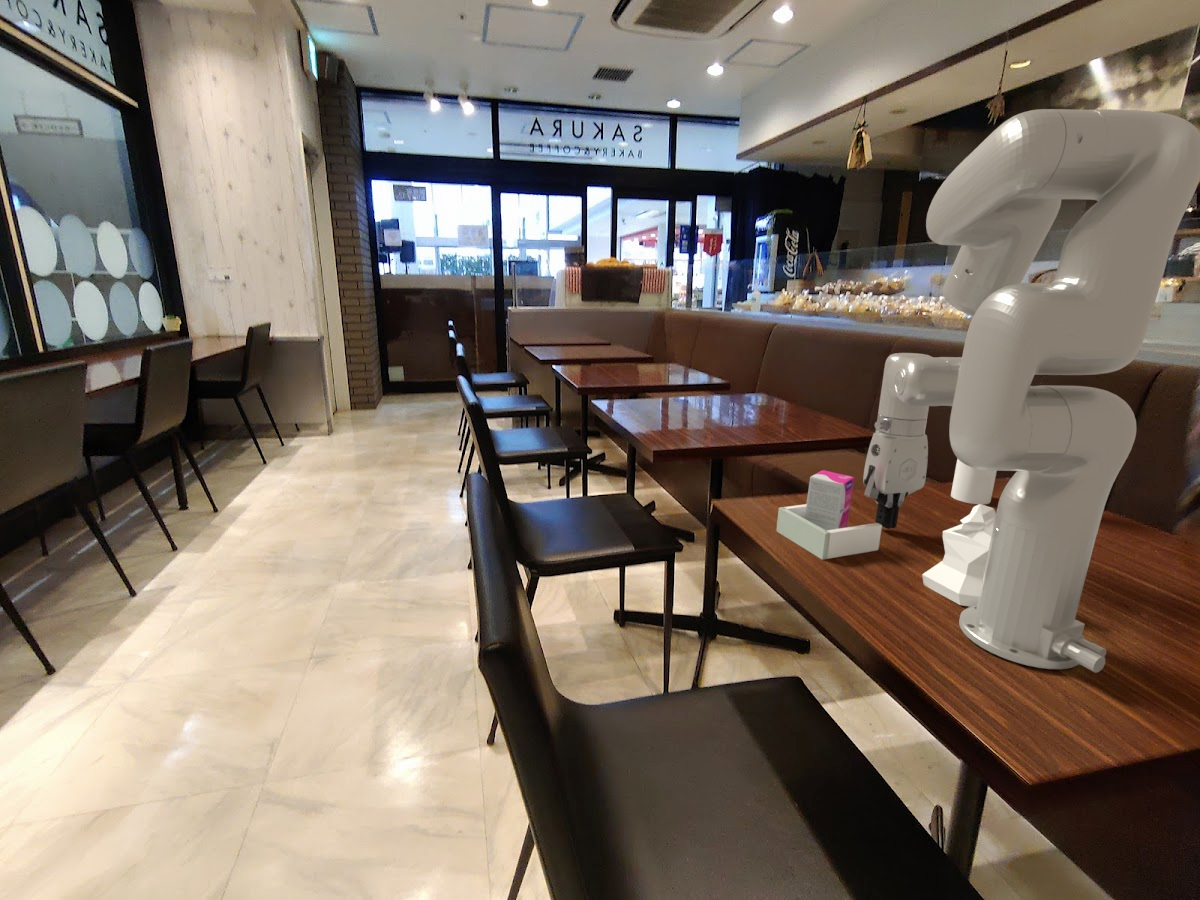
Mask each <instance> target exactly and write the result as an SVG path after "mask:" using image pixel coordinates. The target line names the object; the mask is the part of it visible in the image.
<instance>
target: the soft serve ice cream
mask: <svg viewBox="0 0 1200 900" xmlns="http://www.w3.org/2000/svg"><path fill="white" fill-rule="evenodd" d="M996 512H997V511H996V510H995V508H993V507H990V506H987V505H986V504H976V505H974V506H973V507H972V509H971V511H970V513H969V514H968V515H966V516H964V517H963V518H961V519H960V520H959V521H960V522H961V524H957V525H956V526H955V525H954V526H953V527H950V528H948V529H945V530H943V531H942V541H943V547H944V556H943V558H942V560H941V561H939V562H938V563H937V564H935V565H934V566H932V567H931V568H929V569H928V570H927V571H925V572H924V573H922V581H923V582H922V583H923V586H925V587H926V588H928V589H930V590H932V591H934V592H936V593H937V594H939V595H941V596H943V597H944V598H946V599H949V600H950V601H952V602H954V603H955V604H957V605H959V606H964V607H972V606H977V604H978V599H979V594H980V590H981V585H982V580H983V575H984V570H985V565H986V561H987V556H988V551H989V546H990V541H991V536H992V531H993V527H994V522H995V517H996Z"/></svg>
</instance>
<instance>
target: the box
mask: <svg viewBox="0 0 1200 900" xmlns="http://www.w3.org/2000/svg"><path fill="white" fill-rule="evenodd" d="M806 504H807V503H805V504H797V505H791V506H781V507H778V514H777V521H776V532H777V533H778V534H781V535H782V536H783V537H785V538H787V539H788V540H789V541H792V542H793V543H794V544H796V545H798V546H799V547H800V548H802V549H804V550H806V551H808V552H809V553H811V554H812V555H814V556H815V557H817V558H819V559H820V560H828V559H833V558H834V559H835V558H839V557H846V556H852V555H858V554H864V553H869V552H876V551H879V548H880V542H881V541H880V540H881V534H882V528H883V526H882V525H881V524H879V523H876V522H875V523H867V524H866V523H865V524H861V525H855V526H854V525H853V526H848V527H846V528H840V529H833V530H824V529H822V528H821V527H819V526H817V525H815V524H813V523H811V522H810V521H808V520H806V519H805V511H806Z"/></svg>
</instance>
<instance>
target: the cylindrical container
mask: <svg viewBox="0 0 1200 900" xmlns="http://www.w3.org/2000/svg"><path fill="white" fill-rule="evenodd" d="M956 458H957V457H956ZM953 476H954V477H953V481H952V487H951V492H950V497H951V498H953V499H954V500H956V501H960V502H963V503H967V504H970V505H979V504H982V505H989V504H990V503H991V501H992V496H993V491H994V487H995V482H996V477H997V471H994V470H981V469H976V468H972V467H969V466H967V465H965V464H964V463H962V462H961V461H960V460H959V459H958V458H957V460H956V464H955V469H954V475H953Z"/></svg>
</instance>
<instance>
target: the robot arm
mask: <svg viewBox="0 0 1200 900" xmlns="http://www.w3.org/2000/svg"><path fill="white" fill-rule="evenodd" d="M1199 182H1200V131H1199V129H1197V127H1196V126H1195V125H1194V124H1193V123H1192V122H1189V120H1187V119H1184V118H1182V117H1181V116H1177V115H1175V114H1170V113H1165V112H1160V111H1152V110H1151V111H1150V110H1140V109H1139V110H1137V109H1069V108H1068V109H1065V108H1062V109H1059V108H1055V109H1054V108H1051V109H1050V108H1049V109H1048V108H1047V109H1046V108H1042V109H1032V110H1028V111H1027V110H1026V111H1024V112H1021V113H1018V114H1016V115H1013V116H1011V117H1010V118H1008V119H1006V120H1005V121H1003V122H1002V123H1001V124H1000V125H999V126H998V127H996V129H994V130H993V131H992V132H991V133H990V134H988V136H987V137H986V138H985V139H984V140H983V141H982V142H981V143H980V144H979V145H978V146H977V147H976V148H974V150H973V151H972V152H971V153H969V155H967V156H966V157H965V158H964V159H963V160H962V161H961V162H960V163H959V164H958V165H957V166H956V167H955V168H954V169H953V171H951V173H949V175H948V176H947V177H946V179H945V180H944V181H943V182H942V184H941V185H940V187H938V189H937V191H936V193H935V194H934V196H933V198H932V200H931V203H930V205H929V208H928V211H927V213H926V219H925V222H926V223H925V227H926V234H927V237H928V238H929V239H930V240H931V241H932V242H933V243H934V244H937V245H940V246H960V249H959V250H958V253H957V255H956V258H955V260H954V262H953V264H952V266H951V269H950V271H949V273H948V276H947V277H946V280H945V283H944V284H943V287H942V295H943V299H945V301H946V303H948V304H949V305H951V307H953V308H955V309H956V310H958V311H960V312H962V313H964V314H966V315H968V316H971V317H972V319H971V321H970V323H969V326H968V329H967V333H966V336H965V337H966V338H965V340H964V345H963V351H962V356H957V357H955V356H939V357H933V356H931V355H929V354H924V353H917V352H915V353H914V352H898V353H897V352H896V353H892V354H889V355H888V357H887V358H886V360H885V363H884V368H883V376H882V385H881V390H880V397H879V404H878V405H879V406H878V412H877V418H876V421H875V422H874V428H875V432H873V434H872V436H871V437H872V438H871V440H870V443H869V447H868V451H867V454H866V459H865V464H864V470H863V477H862V479H863V480H862V482H863V486H865V487H866V488H865V490H864V492H863V493H864V496H865V497H868V498H870V499H874V501H875V503H876V504H877V510H876V514H875V515H876V516H875V523H879V524H881V525H882V528H885V529H888V530H889V529H895V528H897V524H898V518H899V512H900V507H902V506H903V504H904V502H905V499H906V497H907V496H909V495H911V494H913V493H916V491H919V490H921V489H922V488H923V487H924V486H925V483H926V478H927V477H926V476H927V470H928V460H929V459H928V458H929V446H928V445H929V442H928V435H927V434H926V429H927V428H926V427H927V422H928V421H927V420H928V416H929V415H928V414H929V409H930V407H940V406H943V407H944V406H945V407H946V406H947V407H951V411H950V412H951V413H950V415H949V426H948V427H949V431H948V432H949V436H948V437H949V443H950V447H951V450H952V452H953V454H954V455H955V457H956V458H958V459H959V460H960V461H961V462H962V463H964V464H965V465H967V466H969V467H972V468H976V469H981V470H994V471H999V472H1000V471H1001V472H1002V471H1003V472H1004V471H1005V472H1006V471H1007V472H1009V471H1010V472H1015V473H1014V474H1013V475H1012V477H1011V478H1010V479H1009V481H1008V482H1007V484H1006V485H1005V486H1004V489H1003V491H1002V492H1001V495H1000V498H999V500H998V504H997V508H996V511H995V512H996V517H995V522H994V527H993V531H992V536H991V541H990V546H989V551H988V556H987V561H986V565H985V570H984V575H983V580H982V585H981V590H980V594H979V599H978V604H977V606H972V607H970V606H968V607H967V608H965V609H964V610H962V611H961V612H960V614H959V615H960V616H959V619H958V620H959V621H958V622H959V623H958V624H959V627H960V629H961V631H962V633H963V634H964V635H965V636H966V637H967V638H968V639H969V640H971V641H972V642H973V643H974V644H975V645H977V646H979V647H980V648H981V649H984V650H986V651H988V653H991V654H993V655H995V656H998V657H999V658H1002V659H1005V660H1008V661H1009V662H1010V661H1011V662H1012V663H1017V664H1020V665H1023V666H1024V665H1025V666H1028V667H1033V668H1036V669H1044V670H1045V669H1046V670H1066V669H1072V668H1074V667H1077V666H1079V665H1080V666H1083V667H1084V668H1086V669H1087V670H1090V671H1091V672H1093V673H1099V672H1100V671H1102V670H1103V669H1104V667H1105V665H1106V658H1105V657H1106V655H1107V649H1106V648H1105V647H1103V646H1101V645H1098V644H1097V643H1095V642H1091V641H1089V640H1087V639H1086V637H1085V636H1084V635H1083V632H1084V628H1085V623H1084V622H1081V621H1080V620H1078V619H1076V617H1077V613H1078V608H1079V604H1080V601H1081V598H1082V593H1083V590H1084V584H1085V580H1086V578H1087V573H1088V570H1089V569H1088V568H1089V566H1090V561H1091V558H1092V554H1093V549H1094V547H1095V542H1096V538H1097V535H1098V532H1099V528H1100V525H1101V520H1102V517H1103V514H1104V510H1105V508H1106V507H1105V506H1106V503H1107V500H1108V498H1109V495H1110V492H1111V490H1112V488H1113V485H1114V483H1115V481H1116V479H1117V477H1118V475H1119V473H1120V471H1121V469H1122V468H1123V466H1124V464H1125V462H1126V460H1127V459H1128V457H1129V456H1130V455H1129V454H1130V453H1131V451H1132V448H1133V445H1134V443H1135V440H1136V436H1137V419H1136V417H1135V413H1134V411H1133V410H1132V408H1131V406H1130V405H1129V404H1128V403H1127V401H1125V400H1124V399H1122V398H1121V397H1120V396H1118V395H1117V394H1115V393H1113V392H1110V391H1109V390H1105V389H1101V388H1097V387H1091V386H1083V385H1045V384H1044V385H1043V384H1042V385H1031V384H1032V382H1033V380H1034V377H1035V375H1037V376H1039V375H1041V376H1043V375H1045V376H1046V375H1049V376H1060V375H1061V376H1085V375H1086V376H1087V375H1088V376H1089V375H1102V374H1109V373H1113V372H1117V371H1120V370H1121V369H1123V368H1125V367H1127V365H1129V364H1130V363H1132V362H1133V360H1134V359H1135V358H1136V356H1137V355H1138V354H1139V351H1140V349H1141V347H1142V345H1143V343H1144V340H1145V337H1146V334H1147V331H1148V328H1149V324H1150V321H1151V317H1152V314H1153V311H1154V307H1155V304H1156V300H1157V297H1158V293H1159V291H1160V287H1161V283H1162V279H1163V277H1164V273H1165V269H1166V266H1167V262H1168V259H1169V253H1170V250H1171V246H1172V244H1173V242H1174V238H1175V235H1176V232H1177V231H1178V228H1179V226H1180V224H1181V221H1182V220H1183V219H1182V218H1183V217H1184V214H1185V212H1186V211H1187V209H1188V207H1189V205H1190V202H1191V201H1192V199H1193V197H1194V194H1195V192H1196V190H1197V187H1198V185H1199ZM1062 200H1088V201H1089V200H1090V201H1091V200H1092V201H1093V200H1094V201H1096V202H1095V203H1094V204H1093V205H1092V206H1091V207H1089V209H1088V210H1086V212H1085V213H1084V214H1083V215H1082V216H1081V217H1080V218H1079V219H1078V221H1077V222H1076V223H1075V225H1074V226H1073V227H1072V228H1071V230H1069V233H1068V234H1067V236H1066V238H1065V240H1064V241H1063V245H1062V248H1061V251H1060V256H1059V262H1058V266H1057V269H1056V271H1055V274H1054V278H1053V280H1052V281H1051V282H1050V283H1049V282H1023V280H1024V278H1025V276H1026V274H1027V272H1028V271H1029V269H1030V267H1031V265H1032V263H1033V262H1034V259H1035V258H1036V256H1037V255H1038V252H1039V251H1040V248H1041V247H1042V245H1043V243H1044V241H1045V239H1046V237H1047V235H1048V233H1049V232H1050V230H1051V228H1052V226H1053V223H1055V220H1056V219H1057V216H1058V213H1059V211H1060V209H1061V205H1062Z"/></svg>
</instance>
